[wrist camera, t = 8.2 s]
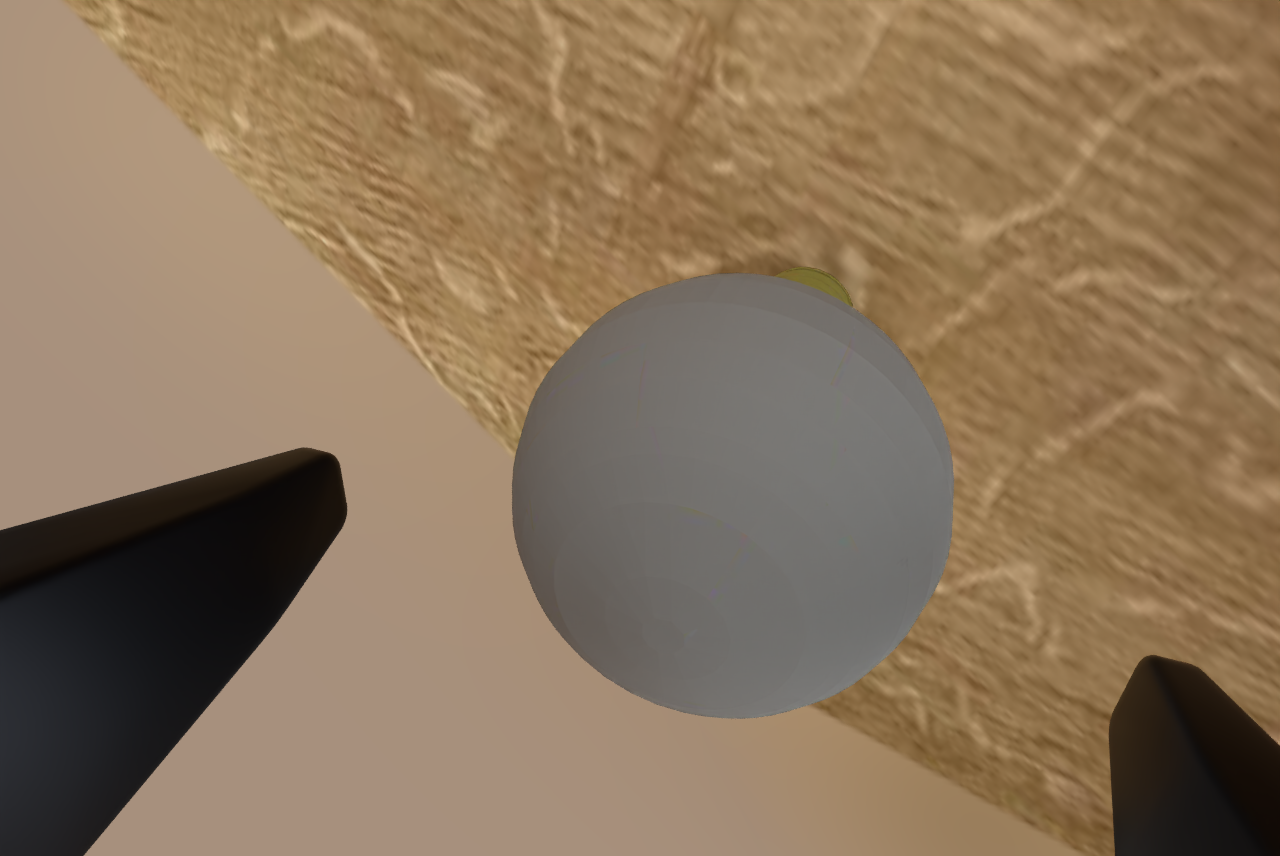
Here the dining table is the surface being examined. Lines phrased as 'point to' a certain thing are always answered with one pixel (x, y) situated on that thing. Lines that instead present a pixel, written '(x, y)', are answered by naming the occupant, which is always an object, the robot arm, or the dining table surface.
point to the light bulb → (734, 494)
